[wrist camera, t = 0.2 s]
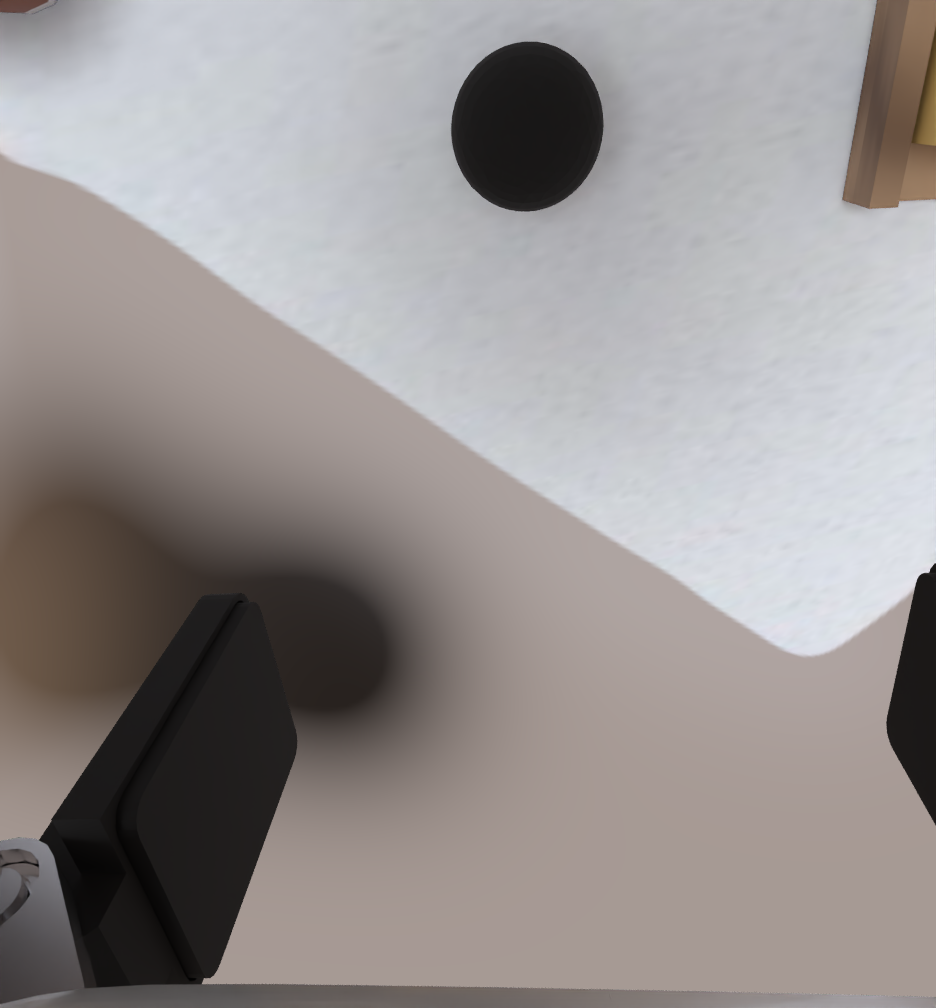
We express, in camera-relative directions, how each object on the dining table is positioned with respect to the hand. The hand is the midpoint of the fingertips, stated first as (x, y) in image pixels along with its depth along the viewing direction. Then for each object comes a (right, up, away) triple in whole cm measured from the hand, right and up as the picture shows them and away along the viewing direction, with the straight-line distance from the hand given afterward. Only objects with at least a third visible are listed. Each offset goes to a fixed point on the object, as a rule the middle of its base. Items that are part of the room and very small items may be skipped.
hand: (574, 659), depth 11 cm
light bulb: (+1, +20, +24) cm, 32 cm away
